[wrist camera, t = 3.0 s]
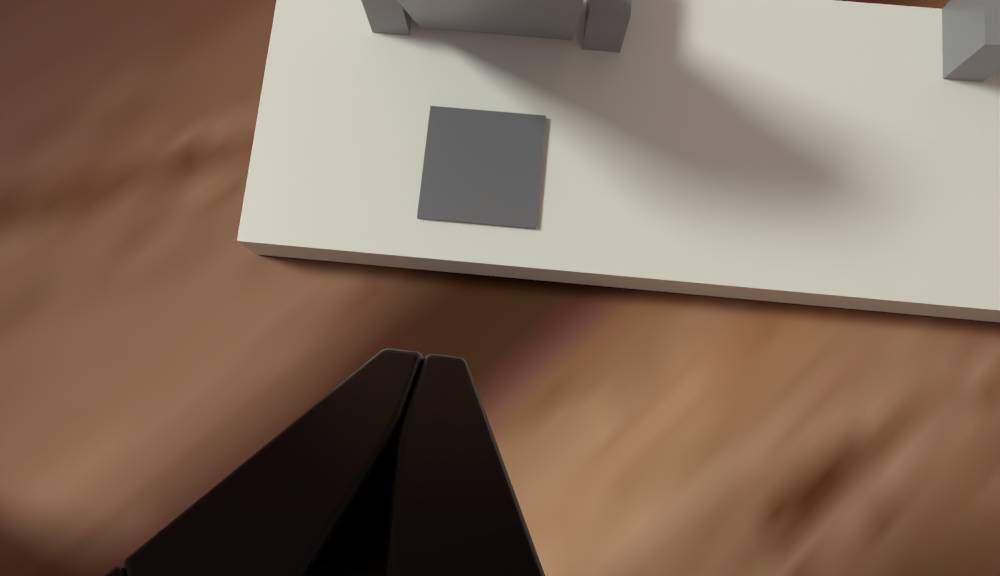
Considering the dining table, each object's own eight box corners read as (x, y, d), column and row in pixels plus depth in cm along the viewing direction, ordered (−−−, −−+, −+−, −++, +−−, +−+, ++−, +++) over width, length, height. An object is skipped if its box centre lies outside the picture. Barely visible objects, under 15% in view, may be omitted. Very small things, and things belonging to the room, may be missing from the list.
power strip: (1195, 340, 20) (1329, 323, 17) (256, 254, 21) (209, 221, 17) (1175, 58, 21) (1294, -9, 18) (299, -12, 22) (262, -88, 19)
